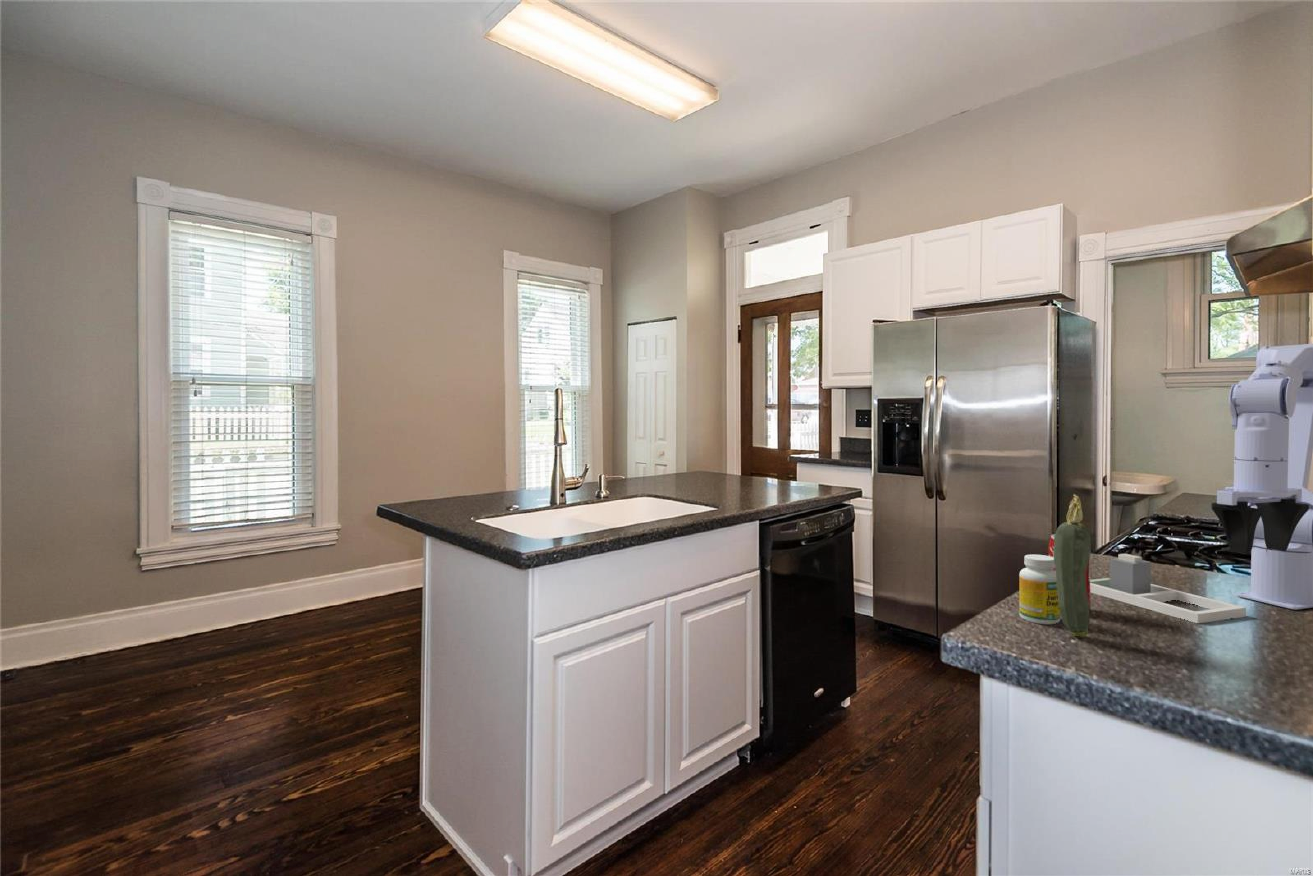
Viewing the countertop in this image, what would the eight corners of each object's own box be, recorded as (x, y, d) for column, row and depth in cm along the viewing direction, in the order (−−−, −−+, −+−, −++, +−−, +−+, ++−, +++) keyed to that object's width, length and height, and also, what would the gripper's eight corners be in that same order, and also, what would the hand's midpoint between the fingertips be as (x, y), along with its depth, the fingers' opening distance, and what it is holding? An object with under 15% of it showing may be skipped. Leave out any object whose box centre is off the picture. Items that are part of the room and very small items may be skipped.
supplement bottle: (1029, 611, 97) (1030, 551, 97) (1067, 620, 92) (1067, 557, 92) (1012, 618, 94) (1012, 556, 94) (1050, 627, 89) (1050, 563, 89)
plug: (1126, 590, 107) (1127, 552, 107) (1150, 597, 103) (1151, 557, 103) (1109, 592, 106) (1109, 554, 106) (1132, 599, 102) (1132, 559, 102)
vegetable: (1078, 644, 83) (1080, 498, 82) (1046, 634, 87) (1047, 494, 86) (1096, 638, 85) (1098, 495, 84) (1064, 629, 89) (1065, 492, 88)
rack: (1121, 584, 111) (1121, 576, 111) (1245, 616, 93) (1245, 607, 93) (1078, 588, 108) (1078, 581, 108) (1197, 623, 90) (1197, 614, 90)
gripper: (1262, 457, 96) (1260, 543, 97) (1194, 459, 92) (1192, 548, 93) (1320, 460, 89) (1318, 552, 90) (1250, 462, 86) (1248, 558, 86)
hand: (1258, 551), depth 91 cm, fingers open, 7 cm apart
